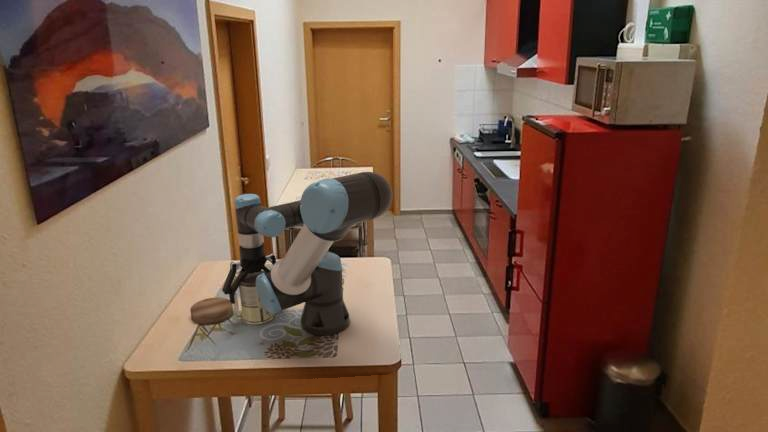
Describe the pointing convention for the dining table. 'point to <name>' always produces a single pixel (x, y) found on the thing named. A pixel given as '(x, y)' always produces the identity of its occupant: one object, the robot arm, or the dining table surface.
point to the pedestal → (211, 310)
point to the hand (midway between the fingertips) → (257, 306)
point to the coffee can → (253, 302)
